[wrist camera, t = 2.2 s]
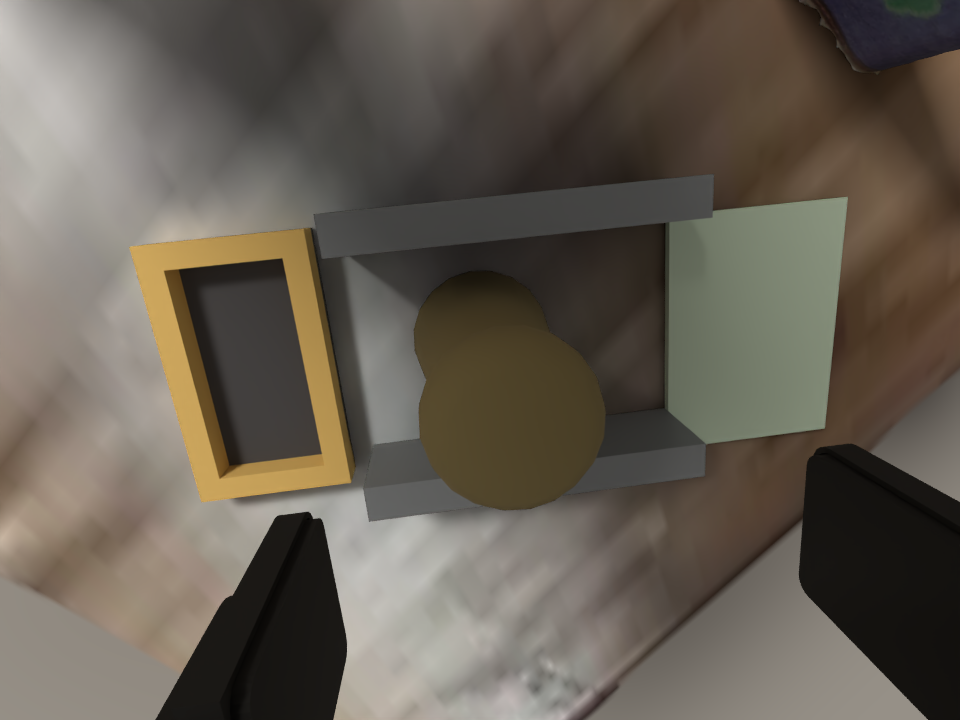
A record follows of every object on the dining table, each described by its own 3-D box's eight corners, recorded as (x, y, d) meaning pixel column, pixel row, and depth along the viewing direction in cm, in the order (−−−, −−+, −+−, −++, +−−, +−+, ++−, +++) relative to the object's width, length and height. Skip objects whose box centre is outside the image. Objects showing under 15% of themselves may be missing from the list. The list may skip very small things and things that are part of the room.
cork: (555, 388, 25) (647, 523, 14) (427, 412, 24) (425, 568, 14) (537, 259, 23) (628, 304, 12) (400, 284, 23) (374, 351, 12)
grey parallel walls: (334, 212, 22) (313, 213, 18) (665, 179, 22) (713, 174, 19) (378, 473, 25) (369, 521, 21) (664, 436, 26) (705, 476, 22)
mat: (665, 215, 23) (669, 215, 23) (840, 197, 23) (847, 197, 23) (664, 445, 26) (667, 449, 26) (818, 425, 27) (824, 428, 26)
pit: (149, 244, 21) (129, 247, 20) (311, 227, 22) (303, 229, 20) (214, 484, 25) (201, 502, 23) (355, 466, 25) (351, 482, 23)
